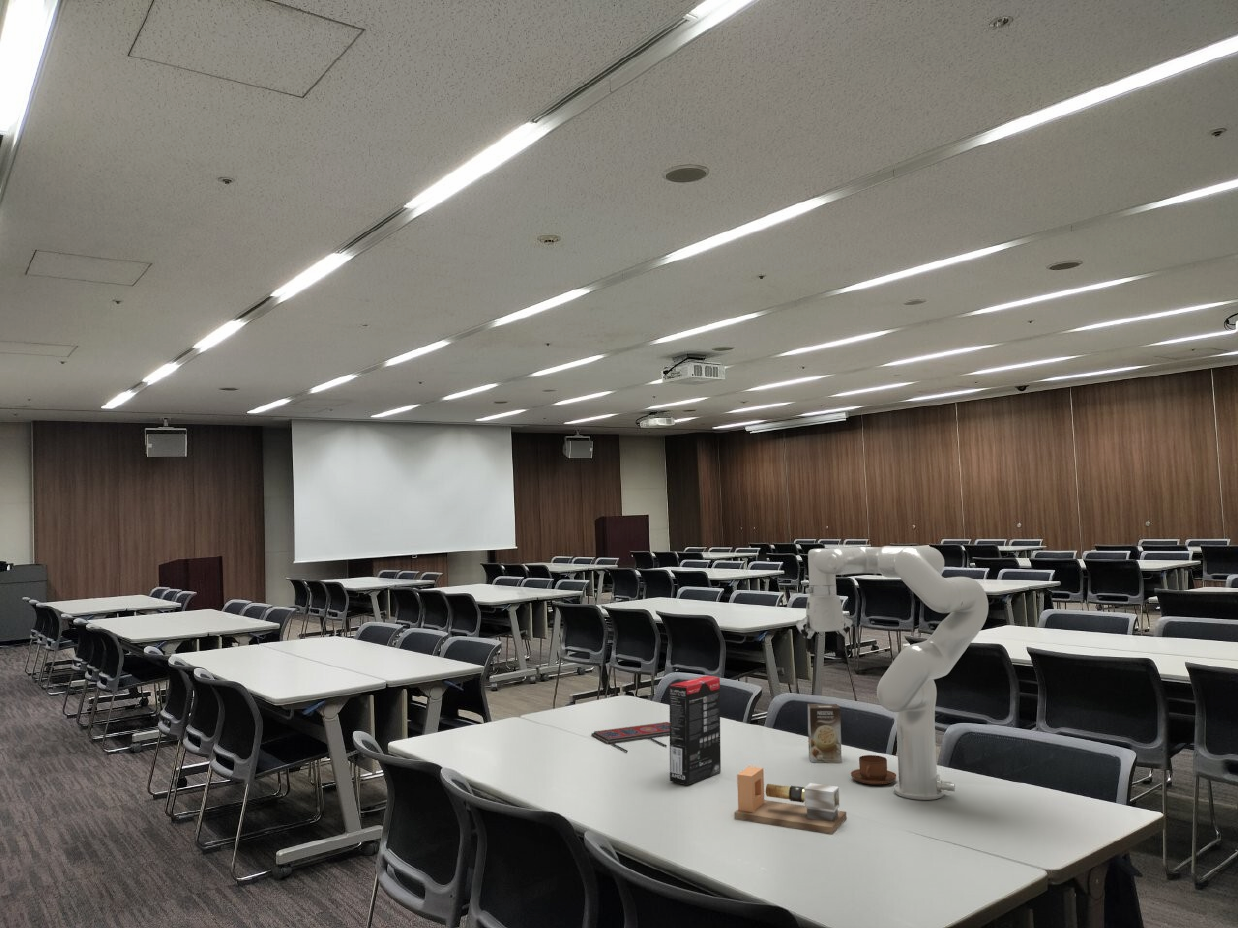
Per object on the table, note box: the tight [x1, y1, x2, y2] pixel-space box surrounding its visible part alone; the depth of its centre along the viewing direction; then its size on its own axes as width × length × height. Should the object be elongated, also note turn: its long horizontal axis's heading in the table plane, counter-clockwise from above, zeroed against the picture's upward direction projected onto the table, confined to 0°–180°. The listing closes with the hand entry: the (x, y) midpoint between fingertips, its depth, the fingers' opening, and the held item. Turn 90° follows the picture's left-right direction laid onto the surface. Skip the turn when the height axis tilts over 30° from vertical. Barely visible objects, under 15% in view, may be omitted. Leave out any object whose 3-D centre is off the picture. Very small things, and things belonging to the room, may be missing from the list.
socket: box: [736, 765, 765, 812], centre depth 215 cm, size 4×8×8 cm, turn 150°
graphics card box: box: [668, 675, 722, 786], centre depth 246 cm, size 17×7×27 cm, turn 141°
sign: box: [590, 721, 670, 753], centre depth 291 cm, size 27×2×30 cm
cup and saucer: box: [850, 754, 897, 786], centre depth 238 cm, size 12×12×6 cm
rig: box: [733, 782, 847, 835], centre depth 210 cm, size 24×12×8 cm, turn 60°
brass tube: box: [765, 783, 836, 806], centre depth 209 cm, size 16×4×4 cm, turn 60°
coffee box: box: [807, 703, 843, 764], centre depth 261 cm, size 9×6×16 cm
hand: (825, 651), depth 250 cm, fingers open, 9 cm apart
